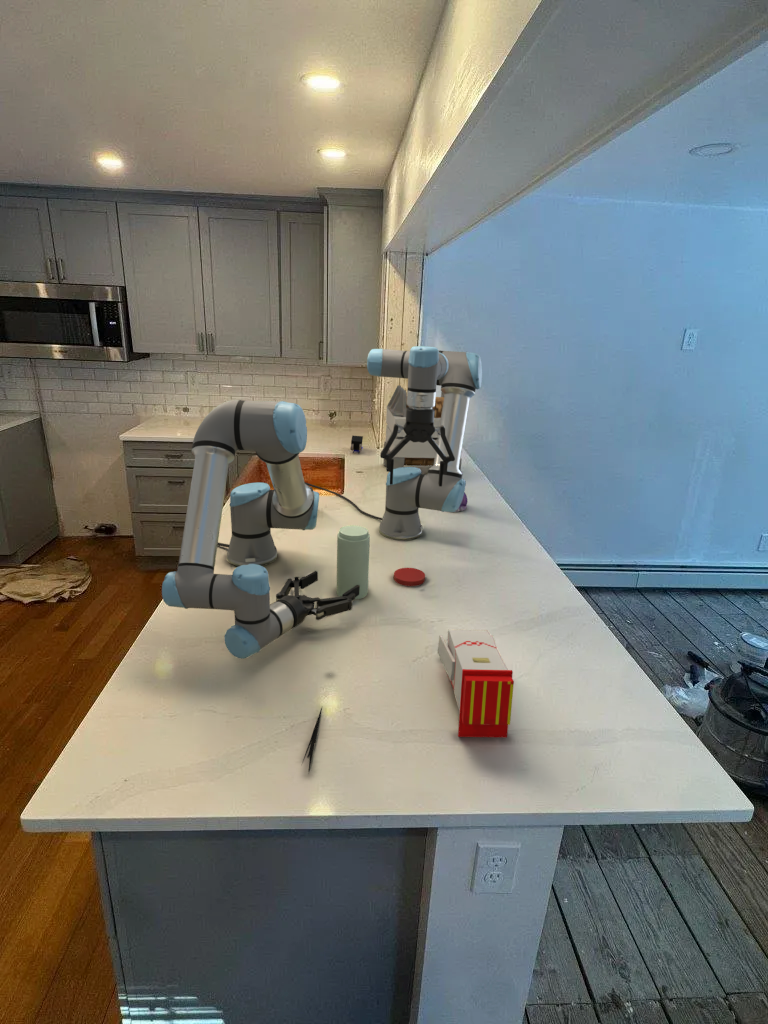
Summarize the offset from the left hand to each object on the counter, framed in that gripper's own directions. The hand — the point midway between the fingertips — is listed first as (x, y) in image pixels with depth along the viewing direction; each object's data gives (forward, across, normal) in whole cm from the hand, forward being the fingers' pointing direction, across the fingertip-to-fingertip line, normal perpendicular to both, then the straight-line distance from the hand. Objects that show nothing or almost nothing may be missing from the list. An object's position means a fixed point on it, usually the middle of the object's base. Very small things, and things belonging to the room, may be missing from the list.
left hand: (337, 582), depth 149 cm
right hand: (+24, +9, +23) cm, 35 cm away
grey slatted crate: (+127, -43, -6) cm, 134 cm away
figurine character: (+142, -91, -6) cm, 169 cm away
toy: (-14, +45, -6) cm, 47 cm away
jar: (+7, 0, -6) cm, 10 cm away
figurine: (+91, -7, -6) cm, 91 cm away
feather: (-39, +24, -6) cm, 46 cm away
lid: (+24, +9, -5) cm, 26 cm away
